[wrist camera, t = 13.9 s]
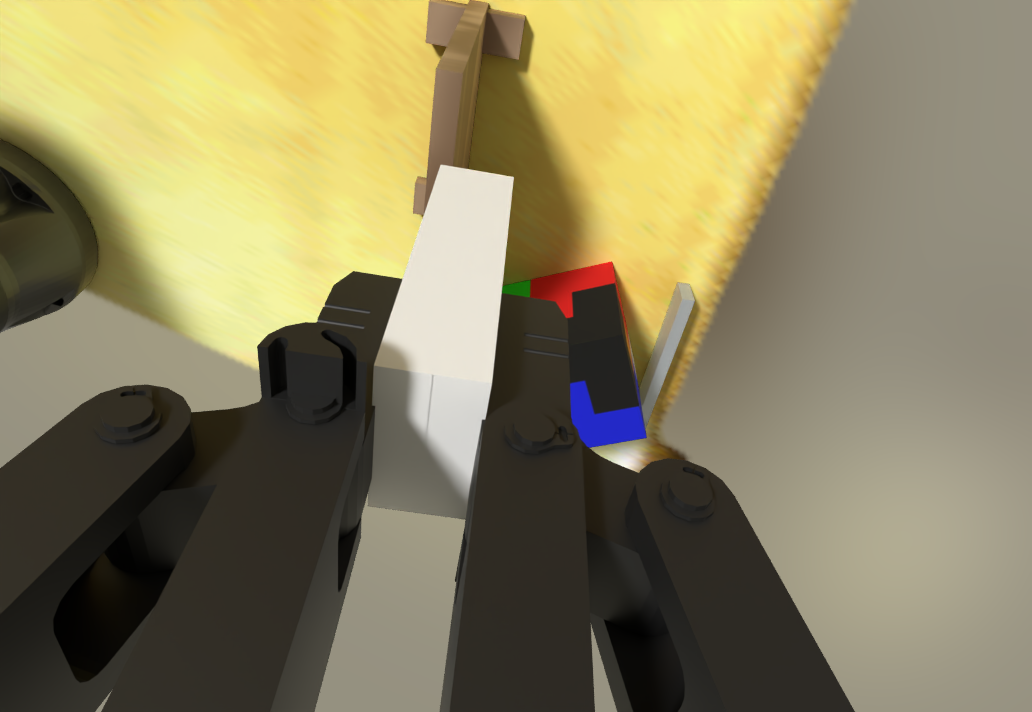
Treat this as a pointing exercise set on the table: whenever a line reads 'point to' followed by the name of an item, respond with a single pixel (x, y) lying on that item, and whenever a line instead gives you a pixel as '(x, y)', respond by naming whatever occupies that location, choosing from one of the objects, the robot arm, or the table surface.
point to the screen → (461, 78)
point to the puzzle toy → (594, 352)
